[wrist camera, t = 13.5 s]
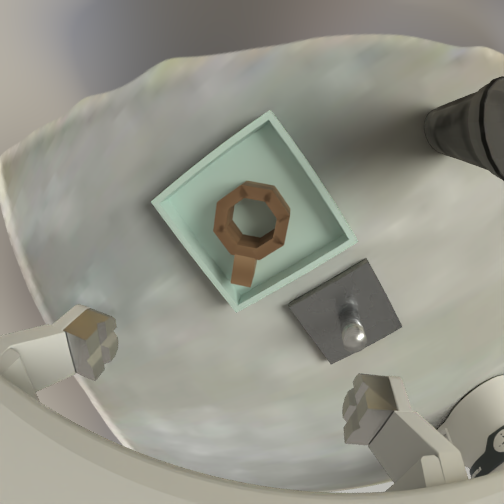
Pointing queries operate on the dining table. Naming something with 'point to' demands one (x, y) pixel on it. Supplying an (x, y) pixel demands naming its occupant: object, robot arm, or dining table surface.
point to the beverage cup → (471, 128)
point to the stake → (346, 312)
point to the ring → (246, 245)
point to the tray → (255, 210)
